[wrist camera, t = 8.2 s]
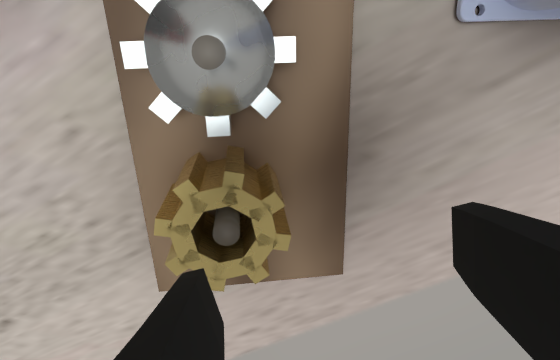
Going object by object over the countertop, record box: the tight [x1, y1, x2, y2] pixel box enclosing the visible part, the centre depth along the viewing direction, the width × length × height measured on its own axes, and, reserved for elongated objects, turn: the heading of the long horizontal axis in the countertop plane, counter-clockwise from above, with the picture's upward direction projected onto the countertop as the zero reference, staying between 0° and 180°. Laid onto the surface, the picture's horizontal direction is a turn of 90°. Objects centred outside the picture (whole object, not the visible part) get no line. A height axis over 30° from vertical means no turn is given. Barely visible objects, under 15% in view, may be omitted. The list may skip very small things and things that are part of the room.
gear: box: [120, 0, 296, 137], centre depth 15 cm, size 7×7×2 cm
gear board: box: [103, 0, 354, 292], centre depth 17 cm, size 11×16×4 cm
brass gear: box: [154, 145, 291, 291], centre depth 17 cm, size 6×6×4 cm
